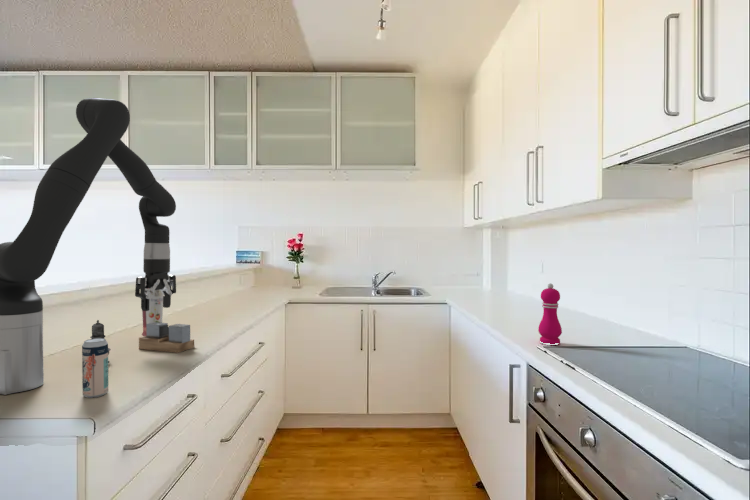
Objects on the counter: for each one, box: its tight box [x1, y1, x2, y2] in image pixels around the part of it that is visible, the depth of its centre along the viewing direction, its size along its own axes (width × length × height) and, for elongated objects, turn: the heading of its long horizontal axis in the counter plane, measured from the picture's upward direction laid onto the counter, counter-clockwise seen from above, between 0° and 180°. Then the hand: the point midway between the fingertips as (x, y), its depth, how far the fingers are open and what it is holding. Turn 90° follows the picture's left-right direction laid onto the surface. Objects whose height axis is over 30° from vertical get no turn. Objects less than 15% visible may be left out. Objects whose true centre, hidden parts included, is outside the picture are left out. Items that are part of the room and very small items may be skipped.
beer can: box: [81, 337, 109, 399], centre depth 97 cm, size 5×5×12 cm
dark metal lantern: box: [90, 319, 111, 364], centre depth 122 cm, size 6×6×12 cm
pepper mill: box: [537, 283, 563, 344], centre depth 147 cm, size 7×7×20 cm
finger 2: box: [168, 323, 191, 343], centre depth 138 cm, size 4×6×5 cm, turn 72°
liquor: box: [141, 283, 165, 337], centre depth 155 cm, size 7×7×28 cm
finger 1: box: [146, 322, 169, 339], centre depth 140 cm, size 4×6×5 cm, turn 72°
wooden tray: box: [138, 335, 195, 354], centre depth 139 cm, size 7×15×4 cm, turn 72°
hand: (156, 309), depth 140 cm, fingers open, 8 cm apart
